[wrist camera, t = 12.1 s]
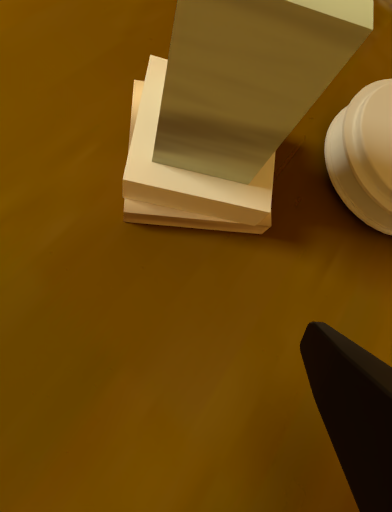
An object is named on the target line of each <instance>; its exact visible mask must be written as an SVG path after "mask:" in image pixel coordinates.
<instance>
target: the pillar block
mask: <svg viewBox="0 0 392 512" xmlns="http://www.w3.org/2000/svg"><path fill="white" fill-rule="evenodd" d="M372 30H373V0H177V6H176V12H175V18H174V25H173V31H172V37H171V44H170V50H169V56H168V62H167V69H166V75H165V81H164V88H163V94H162V100H161V106H160V113H159V119H158V125H157V132H156V138H155V144H154V150H153V157H152V162H155V163H159V164H163V165H167V166H172V167H176V168H180V169H184V170H188V171H193V172H197V173H201V174H205V175H209V176H214V177H218V178H222V179H226V180H231V181H235V182H239V183H243V184H247V185H248V184H249V183H250V182H251V181H252V179H253V178H254V177H255V176H256V174H257V173H258V172H259V171H260V169H261V168H262V167H263V166H264V164H265V163H266V162H267V161H268V159H269V158H270V157H271V156H272V154H273V153H274V152H275V151H276V150H277V148H278V147H279V146H280V145H281V143H282V142H283V141H284V140H285V138H286V137H287V136H288V135H289V133H290V132H291V131H292V130H293V128H294V127H295V126H296V125H297V123H298V122H299V121H300V120H301V118H302V117H303V116H304V115H305V114H306V112H307V111H308V110H309V109H310V107H311V106H312V105H313V104H314V102H315V101H316V100H317V99H318V97H319V96H320V95H321V94H322V92H323V91H324V90H325V89H326V87H327V86H328V85H329V84H330V82H331V81H332V80H333V79H334V78H335V76H336V75H337V74H338V73H339V71H340V70H341V69H342V68H343V66H344V65H345V64H346V63H347V61H348V60H349V59H350V58H351V56H352V55H353V54H354V53H355V51H356V50H357V49H358V48H359V47H360V45H361V44H362V43H363V42H364V40H365V39H366V38H367V37H368V35H369V34H370V33H371V32H372Z"/></svg>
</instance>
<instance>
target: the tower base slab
mask: <svg viewBox="0 0 392 512" xmlns="http://www.w3.org/2000/svg"><path fill="white" fill-rule="evenodd" d="M143 86H144V81H138V80H134V89H133V101H132V114H131V127H130V139H129V149H130V145H131V140H132V136H133V131H134V127H135V122H136V118H137V113H138V109H139V104H140V100H141V95H142V91H143ZM128 154H129V152H128ZM124 222H132V223H143V224H154V225H165V226H176V227H187V228H198V229H209V230H220V231H232V232H243V233H254V234H262V233H264V232H265V231H266V230H267V229H269V228H270V227H271V226H272V224H271V212H270V213H269V214H268V215H267V216H266V217H265V218H264V219H263V220H261V221H260V222H259V223H258V224H257V225H256V226H252V225H248V224H243V223H238V222H234V221H229V220H224V219H220V218H215V217H211V216H206V215H201V214H197V213H192V212H188V211H183V210H178V209H174V208H169V207H165V206H160V205H155V204H151V203H146V202H141V201H137V200H132V199H128V198H125V203H124Z"/></svg>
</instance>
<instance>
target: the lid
mask: <svg viewBox="0 0 392 512" xmlns="http://www.w3.org/2000/svg"><path fill="white" fill-rule="evenodd" d="M324 152H325V162H326V167H327V171H328V174H329V177H330V179H331V182H332V184H333V186H334V188H335V190H336V192H337V193H338V195H339V196H340V198H341V199H342V201H343V202H344V203H345V205H346V206H347V207H348V208H349V209H350V210H351V211H352V212H353V213H354V214H355V215H356V216H357V217H358V218H359V219H361V220H362V221H363V222H365V223H366V224H367V225H369V226H371V227H372V228H374V229H376V230H378V231H380V232H382V233H385V234H388V235H391V236H392V79H385V80H380V81H376V82H374V83H371V84H369V85H368V86H366V87H364V88H363V89H362V90H361V91H360V92H358V93H357V94H356V96H355V97H354V98H353V99H352V100H351V102H350V104H349V105H348V106H347V107H345V108H344V109H343V110H341V111H340V112H339V114H338V115H337V116H336V117H335V118H334V120H333V121H332V123H331V124H330V126H329V129H328V131H327V135H326V139H325V150H324Z"/></svg>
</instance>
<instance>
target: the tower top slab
mask: <svg viewBox="0 0 392 512" xmlns="http://www.w3.org/2000/svg"><path fill="white" fill-rule="evenodd" d="M167 62H168V60H166V59H163V58H160V57H156V56H153V55H150V59H149V64H148V68H147V73H146V77H145V82H144V86H143V91H142V95H141V100H140V104H139V109H138V113H137V118H136V122H135V127H134V131H133V136H132V140H131V145H130V149H129V154H128V158H127V163H126V167H125V172H124V176H123V198H128V199H132V200H137V201H141V202H146V203H151V204H155V205H160V206H165V207H169V208H174V209H178V210H183V211H188V212H192V213H197V214H201V215H206V216H211V217H215V218H220V219H224V220H229V221H234V222H238V223H243V224H248V225H252V226H256V225H257V224H258V223H259V222H260V221H261V220H263V219H264V218H265V217H266V216H267V215H268V214H269V213H270V212H271V200H272V188H273V176H274V163H275V152H274V153H273V154H272V156H271V157H270V158H269V159H268V161H267V162H266V163H265V164H264V166H263V167H262V168H261V169H260V171H259V172H258V173H257V174H256V176H255V177H254V178H253V179H252V181H251V182H250V183H249V184H248V185H247V184H243V183H239V182H235V181H231V180H226V179H222V178H218V177H214V176H209V175H205V174H201V173H197V172H193V171H188V170H184V169H180V168H176V167H172V166H167V165H163V164H159V163H155V162H152V157H153V150H154V144H155V138H156V132H157V125H158V119H159V113H160V106H161V100H162V94H163V88H164V81H165V75H166V69H167Z"/></svg>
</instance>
